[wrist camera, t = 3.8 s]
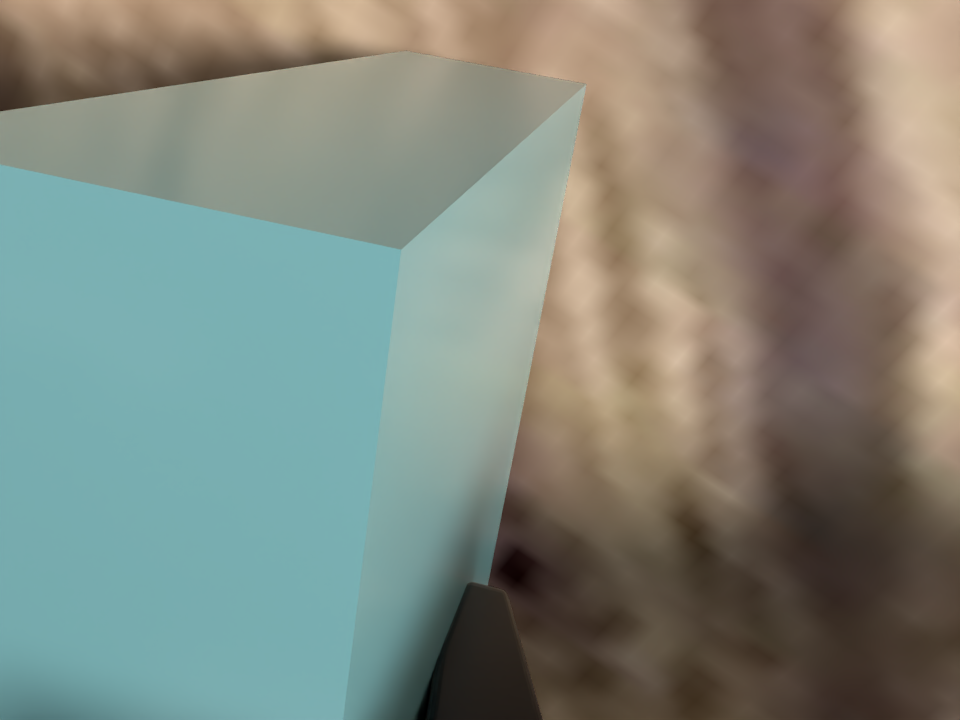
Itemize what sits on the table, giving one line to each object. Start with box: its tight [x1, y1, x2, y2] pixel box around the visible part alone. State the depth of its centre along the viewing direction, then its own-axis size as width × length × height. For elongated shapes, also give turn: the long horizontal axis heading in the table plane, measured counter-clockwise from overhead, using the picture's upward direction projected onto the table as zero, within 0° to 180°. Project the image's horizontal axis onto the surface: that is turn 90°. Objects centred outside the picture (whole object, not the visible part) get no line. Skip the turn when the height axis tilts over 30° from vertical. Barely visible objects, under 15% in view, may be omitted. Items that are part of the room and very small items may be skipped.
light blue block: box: [0, 51, 586, 720], centre depth 8 cm, size 2×10×7 cm, turn 171°
